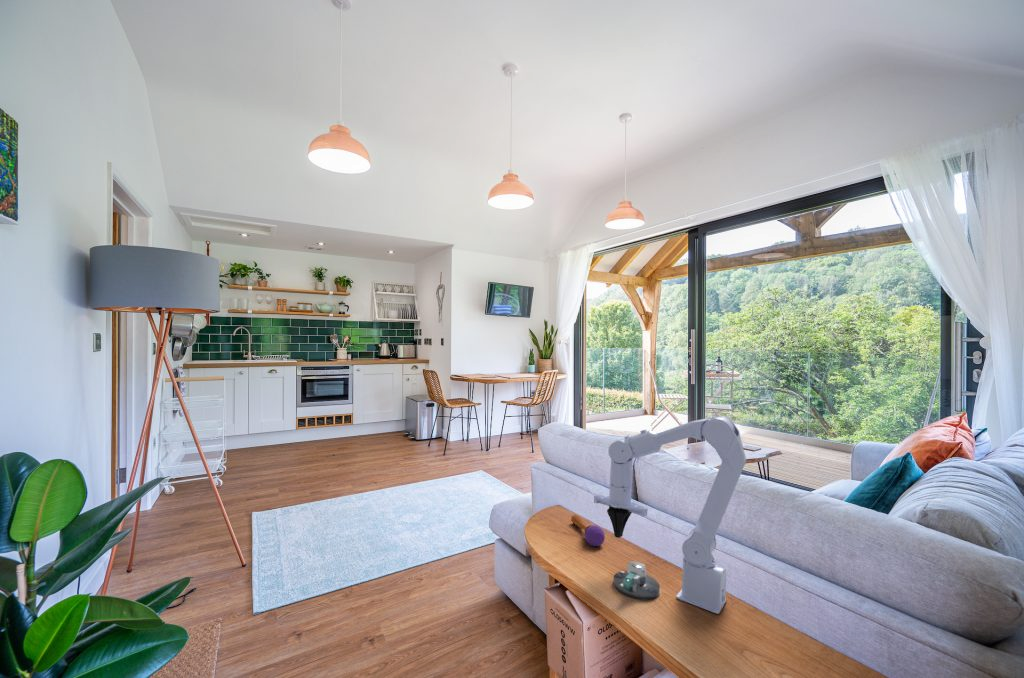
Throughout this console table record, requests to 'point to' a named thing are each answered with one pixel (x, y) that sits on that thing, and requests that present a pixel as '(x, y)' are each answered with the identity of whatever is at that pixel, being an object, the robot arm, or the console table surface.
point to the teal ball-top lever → (634, 574)
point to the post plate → (637, 587)
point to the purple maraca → (590, 531)
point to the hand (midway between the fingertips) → (618, 536)
